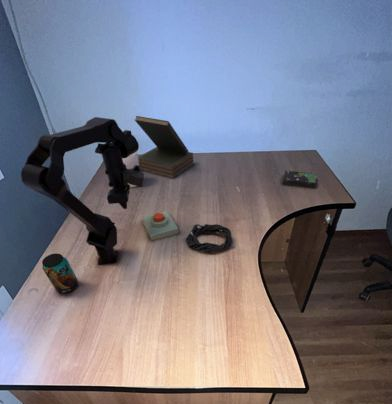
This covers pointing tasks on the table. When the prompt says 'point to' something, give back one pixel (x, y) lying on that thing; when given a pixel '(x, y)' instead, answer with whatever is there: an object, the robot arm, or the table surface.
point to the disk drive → (299, 179)
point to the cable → (209, 230)
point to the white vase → (131, 162)
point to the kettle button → (158, 217)
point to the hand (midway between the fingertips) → (125, 208)
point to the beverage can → (60, 273)
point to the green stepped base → (160, 226)
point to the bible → (163, 149)
